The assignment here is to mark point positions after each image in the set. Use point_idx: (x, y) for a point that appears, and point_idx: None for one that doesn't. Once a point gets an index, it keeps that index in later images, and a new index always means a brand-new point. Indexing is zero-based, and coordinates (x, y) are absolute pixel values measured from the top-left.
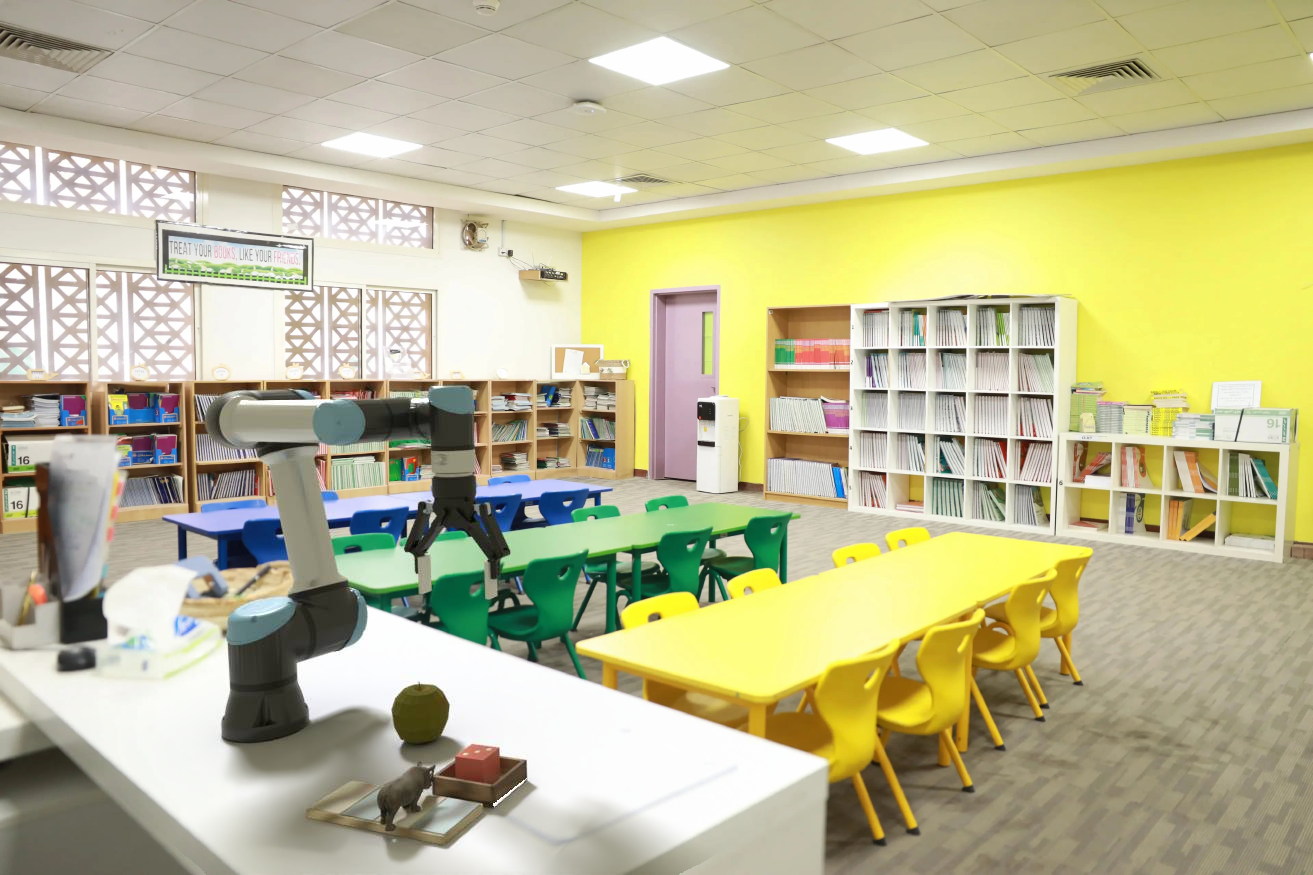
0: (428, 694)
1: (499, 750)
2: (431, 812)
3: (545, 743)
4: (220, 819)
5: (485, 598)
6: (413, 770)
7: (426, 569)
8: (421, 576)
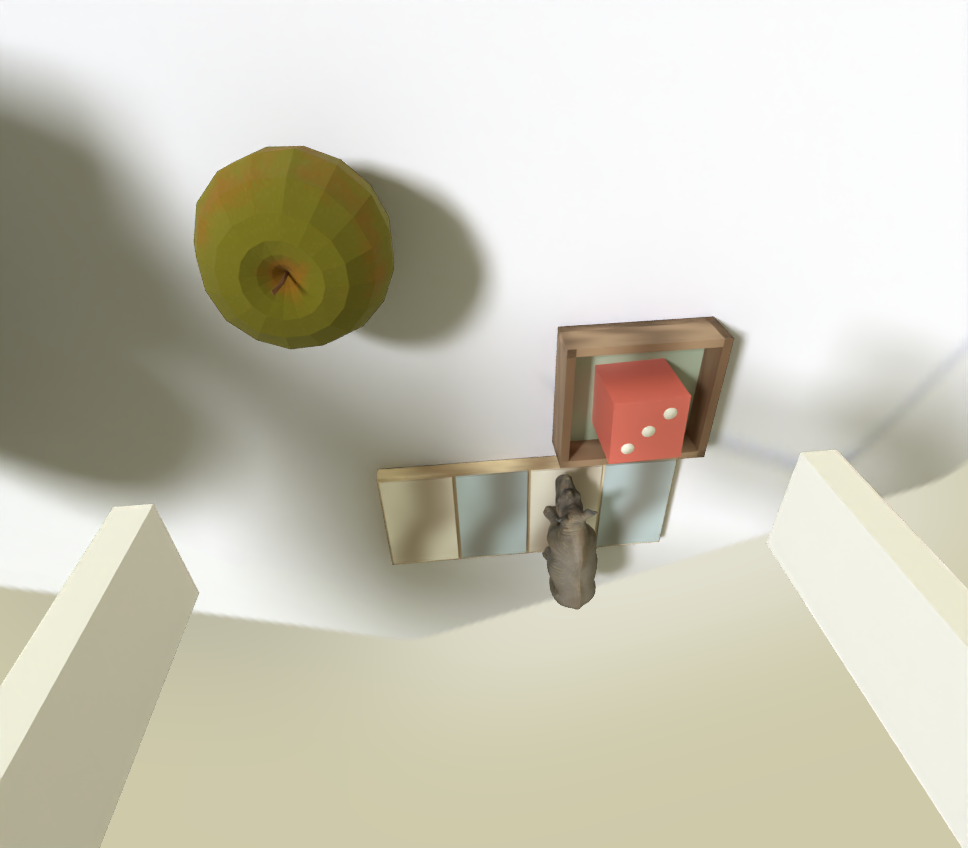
0: (347, 299)
1: (688, 392)
2: (605, 508)
3: (692, 92)
4: (273, 597)
5: (769, 546)
6: (584, 562)
7: (79, 759)
8: (136, 738)
